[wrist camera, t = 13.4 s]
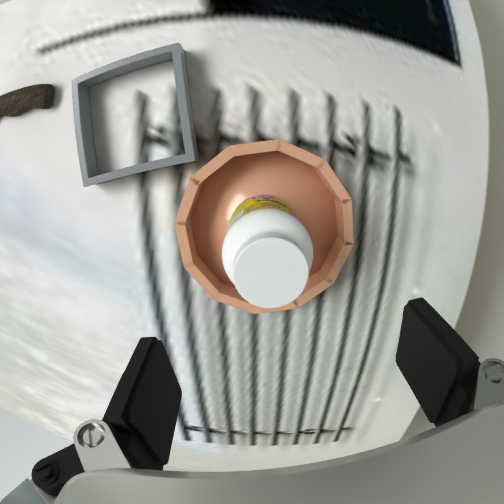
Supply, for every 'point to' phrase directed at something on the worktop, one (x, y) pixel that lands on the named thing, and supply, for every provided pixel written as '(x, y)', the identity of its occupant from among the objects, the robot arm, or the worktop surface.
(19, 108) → the cleaver
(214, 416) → the worktop surface
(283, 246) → the supplement bottle
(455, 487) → the robot arm
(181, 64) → the grey square frame
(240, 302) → the bowl
